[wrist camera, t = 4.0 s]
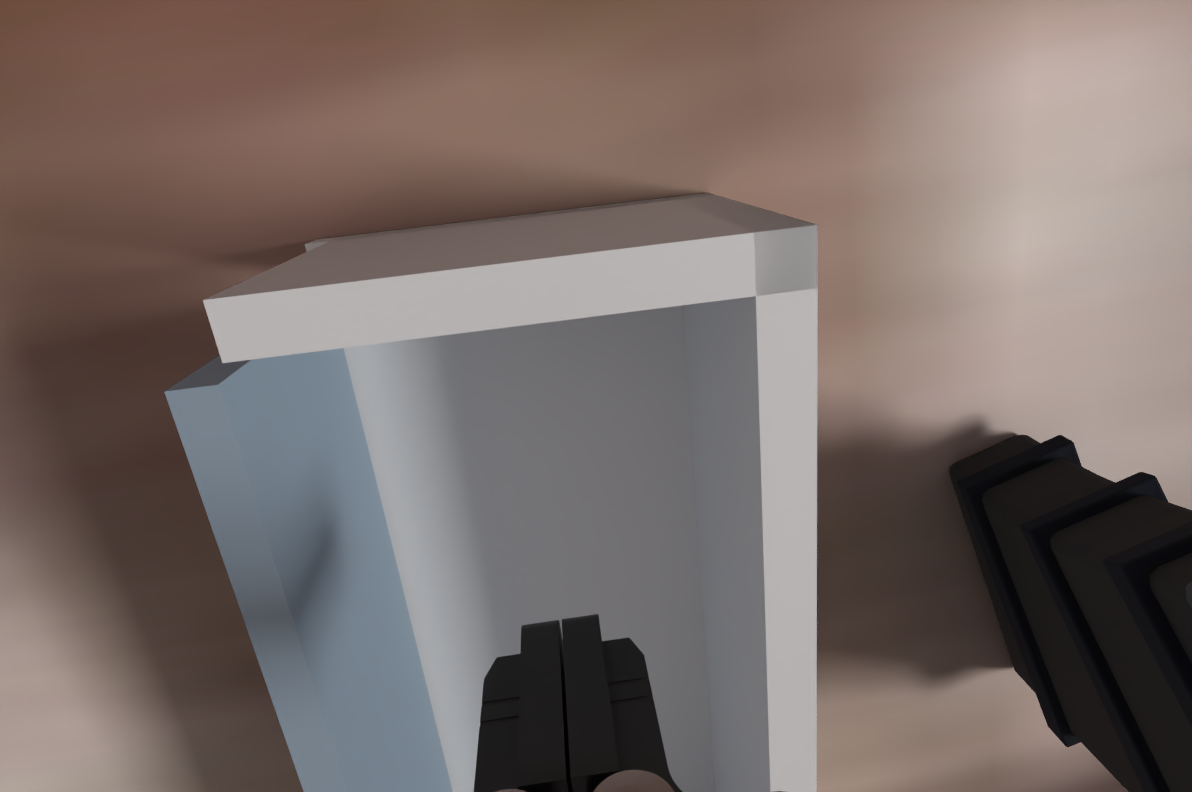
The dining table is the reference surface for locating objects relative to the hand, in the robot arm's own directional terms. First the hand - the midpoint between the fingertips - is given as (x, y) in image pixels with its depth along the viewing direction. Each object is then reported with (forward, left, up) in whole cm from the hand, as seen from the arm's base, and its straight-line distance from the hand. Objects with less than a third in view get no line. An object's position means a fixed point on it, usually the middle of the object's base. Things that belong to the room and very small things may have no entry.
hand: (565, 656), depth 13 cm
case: (0, +6, -11) cm, 12 cm away
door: (+7, +6, -10) cm, 13 cm away
